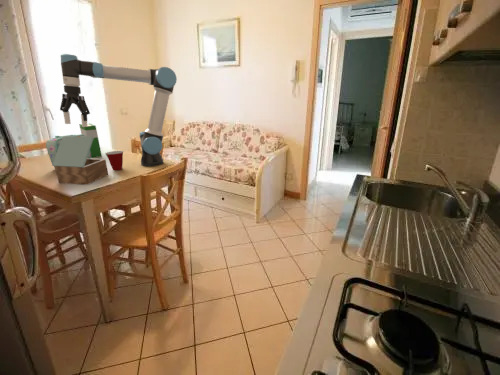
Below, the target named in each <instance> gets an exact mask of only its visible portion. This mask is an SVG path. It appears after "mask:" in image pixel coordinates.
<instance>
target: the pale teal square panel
mask: <svg viewBox="0 0 500 375" xmlns="http://www.w3.org/2000/svg"><path fill="white" fill-rule="evenodd" d="M62 136H63V138H62V140H61V143H60V146H59V148H58V151H57V153H56V156H55V159H54V161H53V164H52V163H51V166H52V167H54V166H63V167H82V168H84V166H85V163H86V160H87V157H88V154H89V151H90V148H91V145H92V142H93V139H94V138H93V137H78V136H66V135H62Z"/></svg>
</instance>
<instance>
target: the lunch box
mask: <svg viewBox="0 0 500 375" xmlns="http://www.w3.org/2000/svg"><path fill="white" fill-rule="evenodd" d="M63 136H64V135H62V136H61V135H55V136H54V137H51V138H49V139H48V140H46V142H45V147H46V151H47V153H48V156H49V160H50V162H51V165H52V164H53V161H54V159H55V156H56V153H57V151H58V148H59V146H60V143H61V140H62V138H63ZM65 136H78V137H86V136H85V135H82V134H81V133H80V134H67V135H65ZM87 158H89V159H92V158H91V151H89V154H88V157H87Z"/></svg>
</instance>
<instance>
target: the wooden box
mask: <svg viewBox="0 0 500 375" xmlns="http://www.w3.org/2000/svg"><path fill="white" fill-rule="evenodd" d="M53 167H54V170H55V173H56V178H57V182H58V183H59V184H69V185H71V184H73V185H85V186H87V185H90V184H92V183H94V182H97V181H98V180H101V179H103V178H104V177H108V176H109V172H108V165H107V161H106V158H105V159H104V158H91V159H89V158H87V160H86V163H85V166H84V168H82V167H63V166H53Z"/></svg>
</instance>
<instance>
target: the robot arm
mask: <svg viewBox="0 0 500 375" xmlns="http://www.w3.org/2000/svg"><path fill="white" fill-rule="evenodd" d="M60 66H61V74H62V81H63V85H64V86H63V90H64V91H63V92H64V93H62V94H61V95H62V98H61V102H60V107H59V111H61V112H63V118H64V124H66V125H71V116H70V115H71V114H70V111H69V110H70V108H71V106H72V104H74V105H75V106H76V107H77V108H78V110H79V111H80V113H81V115H80V118H81V124H82V127H88V126H87V125H88V115H90V114H91V112H90V109H89V108H88V105H87V103H86V100H85V96H83V95H80V94H81V93H82V91H81V90H82V89H81V87H80V86H81V83H80V82H81V81H80V76H85V77H90V78H93V79H97V78H98V79H107V80H117V81H126V82H127V81H128V82H137V83H143V84H144V83H146V84H148V85H150V86H153V87H152V89H154V96H153V100H152V104H151V105H152V106H151V109H150V117H149V120H148V125H147V128H146V129H145V130H144V131H140V132H139V140H140V147H141V153H142V155H141V159H140V164H141V166H143V167H156V166H161V165H163V164H164V159H163V156H162V154H161V151H162V149H163V139H164V134H163V132H162V131H163V127H164V123H165V122H164V121H165V119H166V118H165V117H166V112H167V107H168V103H169V100H170V95H172V94H173V92H174V87H175V86H176V83H177V81H178V80H177V78H178V77H177V75H176V72H175V71H174V70H173V69H171V67H167V66H161V67H159V68H157V69H156V68H155V69H154V68H148V69H141V68H140V69H139V68H130V67H124V66H123V67H122V66H115V65H106V64H103V63H100V62H97V61H89V60H88V61H86V60H81V59H79V58H78V56H76V55H74V54H69V53H62V54H60Z"/></svg>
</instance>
